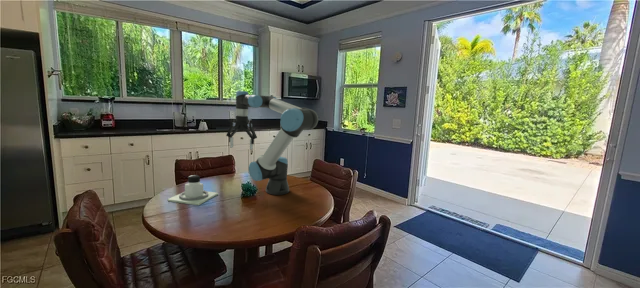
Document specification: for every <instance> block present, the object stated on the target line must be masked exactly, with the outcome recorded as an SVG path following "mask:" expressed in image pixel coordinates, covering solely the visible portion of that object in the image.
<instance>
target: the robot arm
mask: <svg viewBox="0 0 640 288" xmlns="http://www.w3.org/2000/svg"><path fill="white" fill-rule="evenodd" d="M235 92H236V93H235V94H236V95H235V122H234V121H233V122H230V126H229V128H228V131H227V132H226V136H225V137H228V143H229V147H230V148H234V137H233V136H234V135H236V133H237V132H238V131H244V132H246V134H247V135H248V137H249V138H250V139H249V150H254V149H253V145H255V139H258V136H257V134H256V132H255V129H254V127H253V126H254V125H253V123H249V108H263V109H264V108H266V109H269V110H271V111H274V112H277V113H278V114H281V115H280V121H279V122H280V127H279V128H280V130H279V131H278V133H277V134H276V136H274V138H273V140H272V141H271V143H270V144H269V146H268V147H267V149H266V151H265V152H264V153H263V154H261V155H259V156H258V158H257V159H256V161H251V162H250V163H249V165H248V173H249V176H250V178H251V179H252V180H253V181H256V182H259V181H263V180H267V179H268V181H267V184H266V187H265V192H266V193H267V194H269V195H273V196H281V195H286V194H288V193H289V192H290V186H289V183H288V169H289V166H288V165H289V164H288V163H289V162H288V158H287V157H284V156H282V155H283V154H284V152H285V151H286V149H287V148H288V147H289V145H290V144H291V142H292V141H293V139H295V138H298V137H299V136H300V135H301V133H302V132H303V131H309V130H311V131H312V130H313V129H314V128H316V127H317V125H318V122H319V117H318V114H317V112H316V111H315V110H313V109H310V108H308V107H299V106H297V105H293V104H292V103H289V102H286V101H283V100H281V99H278V98H277V97H276V96H272V95H259V94H249V91H245V90H244V91H243V90H237V91H235ZM235 126H236V127H235Z"/></svg>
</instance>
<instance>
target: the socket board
mask: <svg viewBox="0 0 640 288" xmlns="http://www.w3.org/2000/svg"><path fill="white" fill-rule="evenodd" d="M217 195H219V193H218V192H214V191H207V190H204V189H203V196H200V197H197V198H189V197H186V196H185V191H183V192H180V193H178V194H176V195H174V196H172V197H170V198H169V197H168V198H167V201H168V202H172V203H179V204H187V205H193V206H200V205H202V204H204V203H206V202H207V201H209V200H211V199H213V198H215V197H216V196H217Z"/></svg>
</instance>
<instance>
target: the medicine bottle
mask: <svg viewBox="0 0 640 288" xmlns="http://www.w3.org/2000/svg"><path fill="white" fill-rule="evenodd" d="M187 178H188V179H187V180H188V181H187V183H185V184H184V192H185V196H186V197H189V198H197V197H200V196H203V190H204V183H201V176H200V175H198V174H193V175H189V176H188V177H187Z"/></svg>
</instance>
